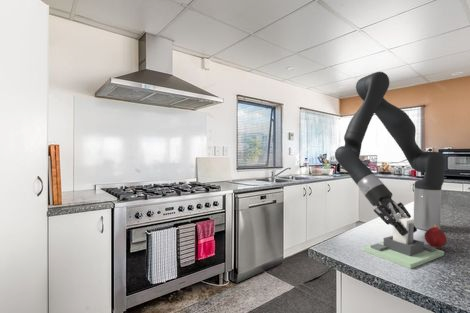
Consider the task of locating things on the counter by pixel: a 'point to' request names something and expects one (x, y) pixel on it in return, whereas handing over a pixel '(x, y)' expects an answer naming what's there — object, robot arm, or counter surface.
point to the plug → (408, 226)
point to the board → (404, 252)
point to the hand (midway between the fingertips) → (409, 232)
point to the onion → (435, 237)
